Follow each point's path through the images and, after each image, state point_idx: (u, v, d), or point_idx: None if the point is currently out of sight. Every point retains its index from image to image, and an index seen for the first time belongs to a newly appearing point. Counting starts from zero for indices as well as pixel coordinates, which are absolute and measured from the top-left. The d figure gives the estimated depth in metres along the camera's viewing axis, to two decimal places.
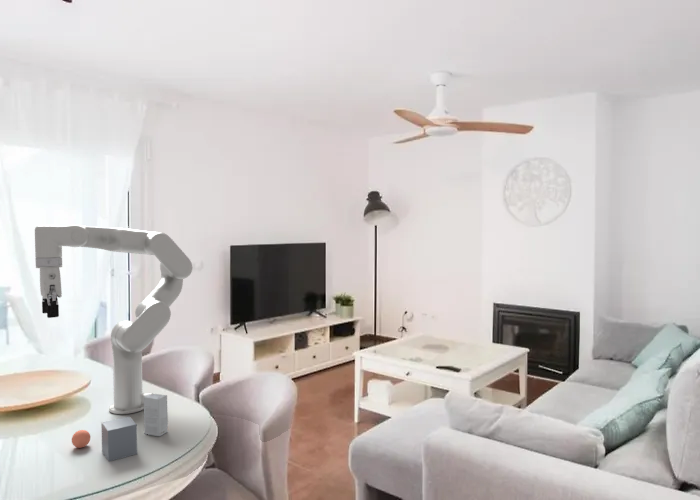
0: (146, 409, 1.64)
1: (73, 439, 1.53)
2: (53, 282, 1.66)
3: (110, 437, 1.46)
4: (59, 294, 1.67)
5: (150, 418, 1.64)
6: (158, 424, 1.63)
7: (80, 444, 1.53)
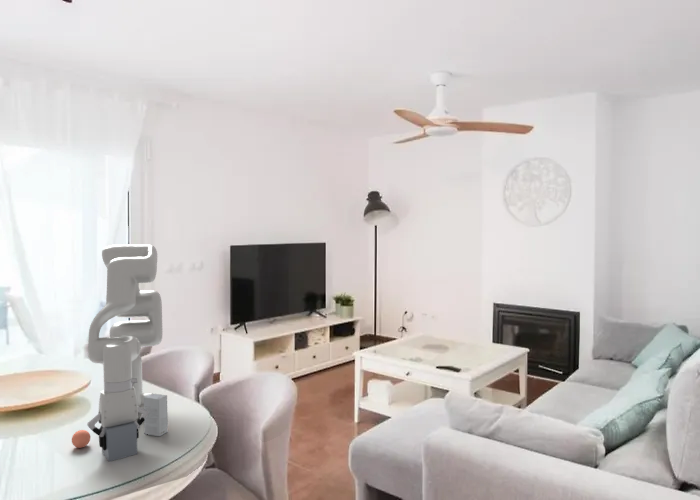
0: (146, 409, 1.64)
1: (73, 439, 1.53)
2: None
3: (110, 437, 1.46)
4: None
5: (150, 418, 1.64)
6: (158, 424, 1.63)
7: (80, 444, 1.53)
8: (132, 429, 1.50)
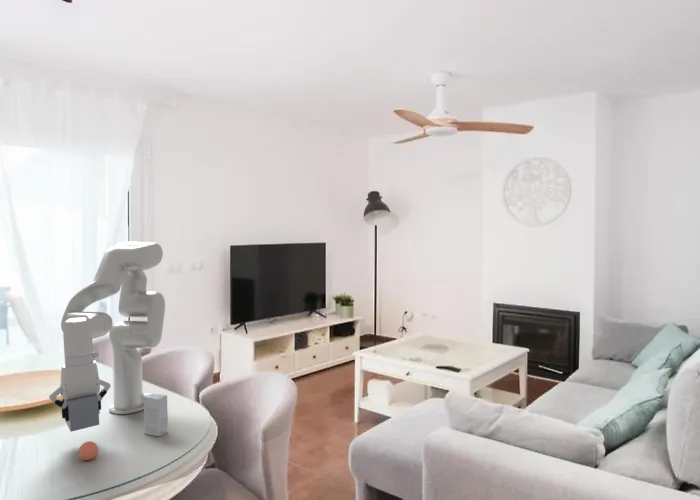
0: (146, 409, 1.64)
1: None
2: None
3: (71, 408, 1.51)
4: None
5: (150, 418, 1.64)
6: (158, 424, 1.63)
7: (85, 442, 1.48)
8: (93, 401, 1.55)
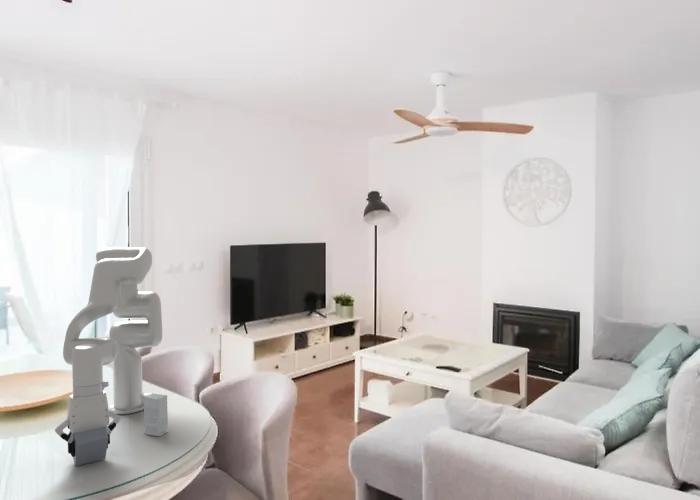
0: (146, 409, 1.64)
1: None
2: None
3: (79, 449, 1.40)
4: None
5: (150, 418, 1.64)
6: (158, 424, 1.63)
7: None
8: (103, 441, 1.43)
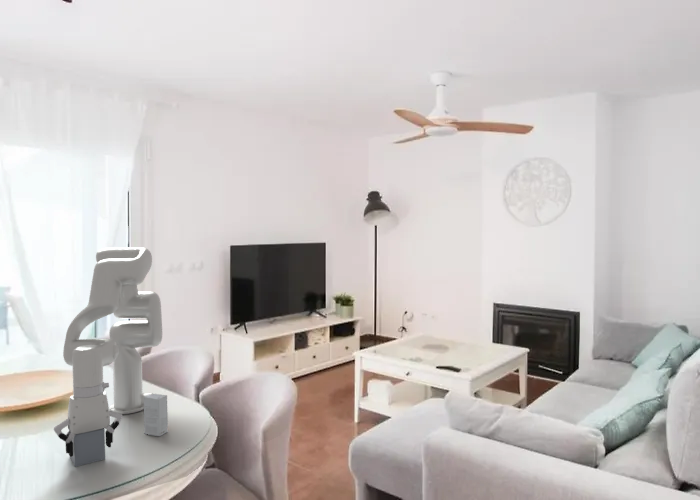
0: (146, 409, 1.64)
1: None
2: None
3: (76, 442, 1.43)
4: None
5: (150, 418, 1.64)
6: (158, 424, 1.63)
7: None
8: (100, 434, 1.47)
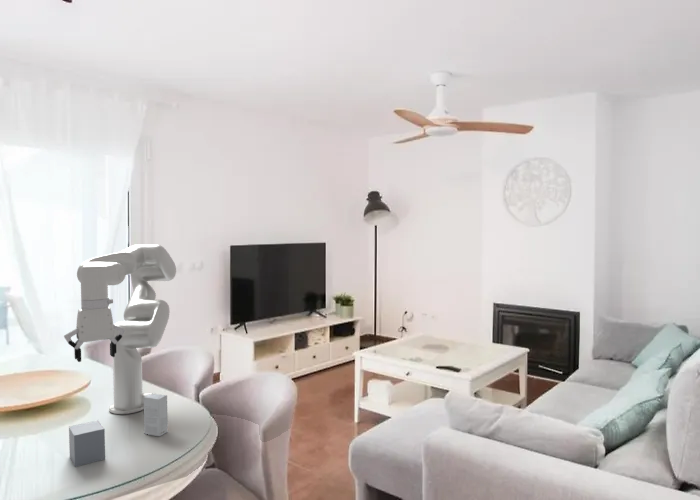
0: (146, 409, 1.64)
1: None
2: None
3: (76, 442, 1.43)
4: None
5: (150, 418, 1.64)
6: (158, 424, 1.63)
7: None
8: (100, 434, 1.47)
